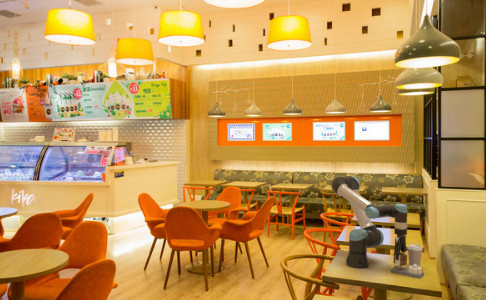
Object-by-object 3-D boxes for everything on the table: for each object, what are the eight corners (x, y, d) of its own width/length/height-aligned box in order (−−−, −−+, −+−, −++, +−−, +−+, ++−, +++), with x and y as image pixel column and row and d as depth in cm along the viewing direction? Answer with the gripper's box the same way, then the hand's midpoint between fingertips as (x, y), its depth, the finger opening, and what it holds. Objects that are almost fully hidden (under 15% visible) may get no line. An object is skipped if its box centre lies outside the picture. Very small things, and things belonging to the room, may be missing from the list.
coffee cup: (423, 271, 257) (424, 248, 257) (408, 269, 259) (408, 247, 259) (420, 266, 267) (421, 244, 266) (405, 265, 269) (405, 243, 268)
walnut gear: (404, 266, 249) (404, 257, 249) (391, 263, 254) (391, 254, 254) (408, 263, 255) (408, 254, 255) (396, 261, 260) (396, 252, 260)
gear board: (390, 271, 255) (390, 261, 254) (395, 268, 261) (395, 258, 261) (419, 278, 243) (419, 267, 243) (424, 275, 250) (424, 264, 249)
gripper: (401, 231, 244) (400, 268, 245) (412, 226, 260) (411, 261, 260) (388, 229, 249) (388, 265, 250) (400, 224, 265) (399, 258, 265)
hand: (400, 263), depth 255 cm, fingers closed on walnut gear, 8 cm apart
